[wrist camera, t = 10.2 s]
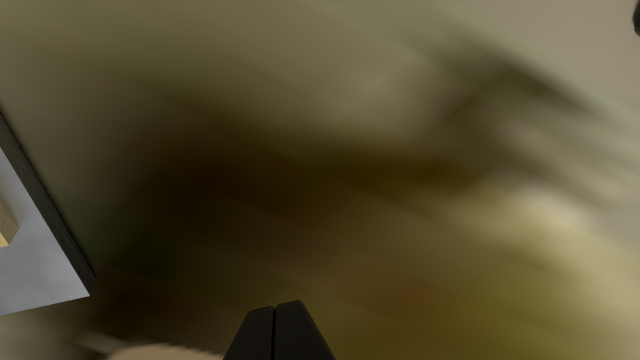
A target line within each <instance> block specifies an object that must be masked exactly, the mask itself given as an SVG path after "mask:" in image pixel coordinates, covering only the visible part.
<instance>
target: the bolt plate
mask: <svg viewBox="0 0 640 360" xmlns="http://www.w3.org/2000/svg"><path fill="white" fill-rule="evenodd" d="M95 280H96V278H95V276H94V274H93V273H92V271H91V269H90V267H89V266H88V264H87V262H86V261H85V259H84V257H83V255H82V254H81V252H80V250H79V248H78V247H77V245H76V243H75V242H74V240H73V238H72V236H71V235H70V233H69V231H68V230H67V228H66V226H65V224H64V223H63V221H62V219H61V217H60V216H59V214H58V212H57V211H56V209H55V207H54V205H53V204H52V202H51V200H50V199H49V197H48V195H47V193H46V192H45V190H44V188H43V186H42V185H41V183H40V181H39V180H38V178H37V176H36V174H35V173H34V171H33V169H32V167H31V166H30V164H29V162H28V161H27V159H26V157H25V155H24V154H23V152H22V150H21V149H20V147H19V145H18V143H17V142H16V140H15V138H14V136H13V135H12V133H11V131H10V130H9V128H8V126H7V124H6V123H5V121H4V119H3V118H2V116H1V114H0V315H4V314H9V313H13V312H18V311H23V310H27V309H32V308H36V307H41V306H45V305H50V304H54V303H59V302H64V301H68V300H73V299H77V298H82V297H86V296H90V294H91V291H92V289H93V286H94V283H95Z"/></svg>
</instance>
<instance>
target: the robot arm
mask: <svg viewBox="0 0 640 360" xmlns="http://www.w3.org/2000/svg"><path fill="white" fill-rule="evenodd" d="M634 28H635V32H636V34H637V35H638V36H640V14H639V16H638V18H637V20H636V23H635V25H634ZM223 360H336V358H335V357H334V355H333V353H332V351H331V350H330V348H329V346H328V345H327V343H326V341H325V340H324V338H323V336H322V335H321V333H320V331H319V329H318V328H317V326H316V324H315V323H314V321H313V319H312V318H311V316H310V314H309V313H308V311H307V309H306V307H305V306H304V304H303V303H302V302H301V301H300V300H296V301H292V302H287V303H283V304H279V305H278V306H277V307H276V308H275V307H272V306H269V307H264V308H260V309H255V310H251V311H250V312H249V313H248V314H247V315H246V317H245V319H244V321H243V323H242V325H241V327H240V328H239V330H238V332H237V334H236V336H235V338H234V340H233V342H232V343H231V345H230V347H229V349H228V351H227V353H226V355H225V357H224V358H223Z"/></svg>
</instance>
